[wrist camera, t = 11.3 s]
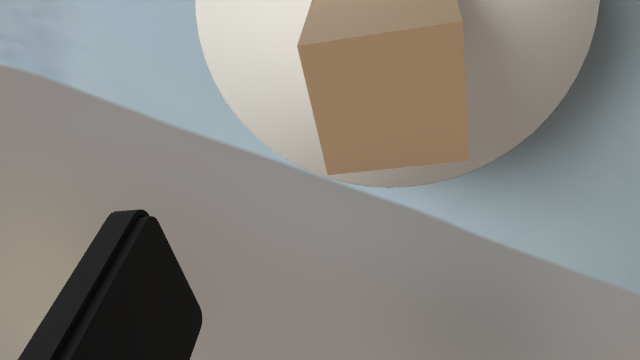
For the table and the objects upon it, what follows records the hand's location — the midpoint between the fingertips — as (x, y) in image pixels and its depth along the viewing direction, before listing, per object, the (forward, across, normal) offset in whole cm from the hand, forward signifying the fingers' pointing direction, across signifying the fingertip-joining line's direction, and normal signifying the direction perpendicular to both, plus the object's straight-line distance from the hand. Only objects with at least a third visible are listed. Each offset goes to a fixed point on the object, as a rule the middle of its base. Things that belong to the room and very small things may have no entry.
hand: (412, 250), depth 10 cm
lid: (+12, +1, 0) cm, 12 cm away
